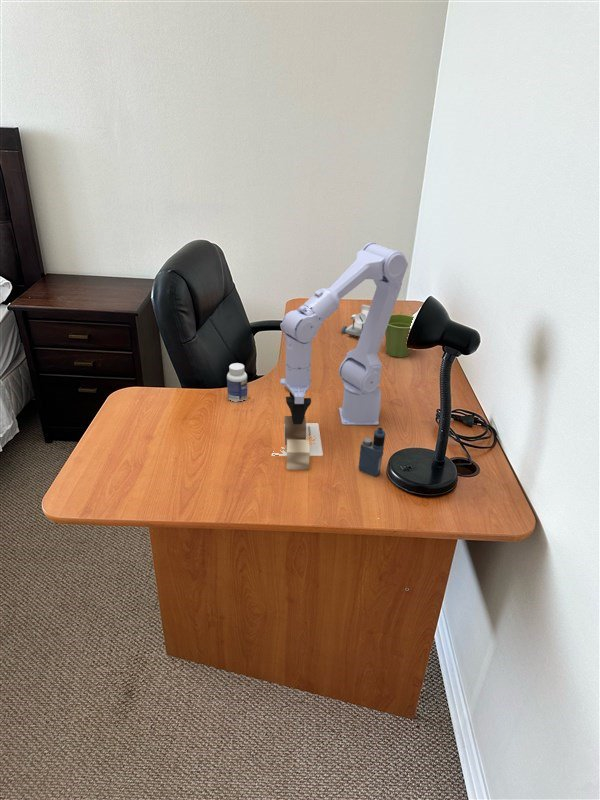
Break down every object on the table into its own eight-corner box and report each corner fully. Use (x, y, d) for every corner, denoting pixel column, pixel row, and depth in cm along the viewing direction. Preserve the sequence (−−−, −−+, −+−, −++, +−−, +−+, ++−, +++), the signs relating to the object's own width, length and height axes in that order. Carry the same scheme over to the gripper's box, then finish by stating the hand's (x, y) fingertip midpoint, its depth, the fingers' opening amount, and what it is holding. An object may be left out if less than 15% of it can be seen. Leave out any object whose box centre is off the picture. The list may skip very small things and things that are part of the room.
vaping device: (377, 478, 124) (383, 433, 118) (356, 470, 126) (360, 425, 120) (382, 472, 126) (388, 428, 120) (361, 464, 128) (366, 420, 122)
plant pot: (421, 351, 182) (426, 318, 177) (407, 364, 174) (411, 330, 168) (388, 342, 188) (392, 310, 182) (372, 354, 179) (376, 321, 173)
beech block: (308, 457, 130) (308, 439, 128) (308, 470, 126) (309, 452, 124) (286, 457, 130) (287, 439, 128) (286, 470, 126) (286, 452, 123)
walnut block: (304, 433, 139) (305, 415, 136) (305, 444, 134) (306, 427, 132) (284, 433, 138) (284, 415, 136) (284, 444, 134) (285, 427, 132)
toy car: (370, 318, 181) (338, 310, 186) (367, 346, 186) (337, 337, 191) (392, 302, 194) (362, 295, 199) (389, 328, 199) (360, 321, 204)
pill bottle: (244, 404, 150) (243, 372, 145) (225, 401, 151) (223, 369, 146) (249, 394, 155) (249, 363, 150) (231, 392, 156) (230, 360, 151)
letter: (318, 423, 143) (318, 423, 143) (322, 456, 131) (322, 455, 131) (271, 423, 142) (271, 423, 142) (271, 456, 130) (271, 455, 130)
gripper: (279, 349, 132) (279, 399, 139) (281, 378, 120) (280, 431, 127) (309, 349, 132) (307, 399, 139) (314, 378, 120) (311, 431, 127)
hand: (296, 414), depth 133 cm, fingers open, 7 cm apart
